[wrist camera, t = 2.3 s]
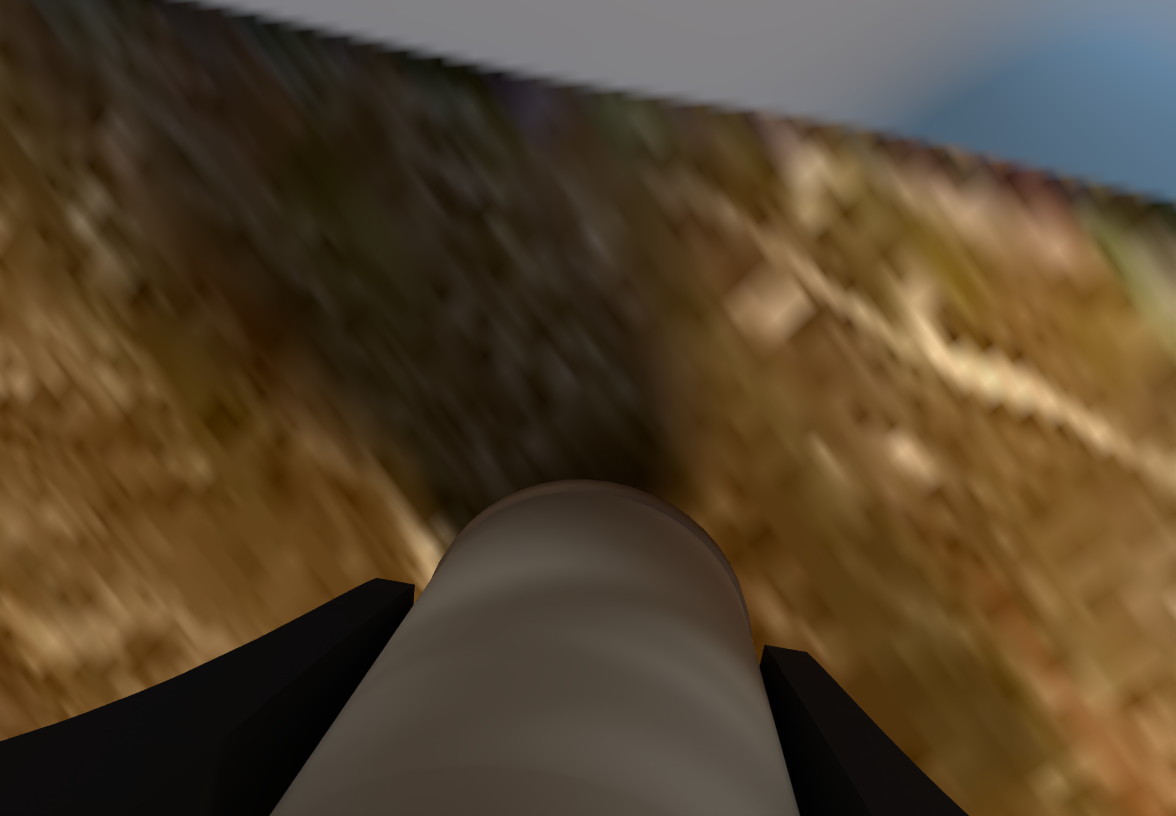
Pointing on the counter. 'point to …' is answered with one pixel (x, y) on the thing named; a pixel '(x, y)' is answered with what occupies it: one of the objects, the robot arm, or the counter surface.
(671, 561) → the peg
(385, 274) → the counter surface
